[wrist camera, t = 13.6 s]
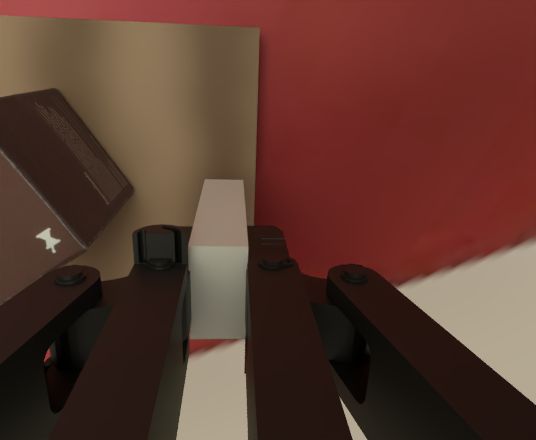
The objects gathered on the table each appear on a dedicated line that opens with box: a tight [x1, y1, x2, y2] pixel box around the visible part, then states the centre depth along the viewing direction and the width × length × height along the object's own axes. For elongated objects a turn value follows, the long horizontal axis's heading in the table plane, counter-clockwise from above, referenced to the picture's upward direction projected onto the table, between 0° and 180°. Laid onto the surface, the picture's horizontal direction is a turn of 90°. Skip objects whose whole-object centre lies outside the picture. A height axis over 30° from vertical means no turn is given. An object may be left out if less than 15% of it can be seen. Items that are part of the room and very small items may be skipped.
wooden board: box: [0, 15, 260, 281], centre depth 23 cm, size 16×14×3 cm
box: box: [0, 88, 134, 305], centre depth 18 cm, size 6×6×7 cm
